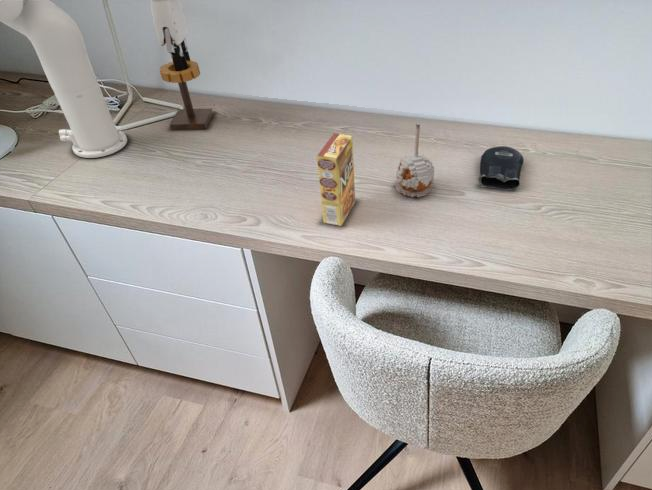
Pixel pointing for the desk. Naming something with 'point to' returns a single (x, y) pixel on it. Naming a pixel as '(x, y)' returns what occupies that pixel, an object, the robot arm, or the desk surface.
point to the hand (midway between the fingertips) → (184, 69)
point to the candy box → (336, 178)
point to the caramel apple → (415, 172)
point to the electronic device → (500, 168)
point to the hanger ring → (179, 72)
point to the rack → (190, 113)
